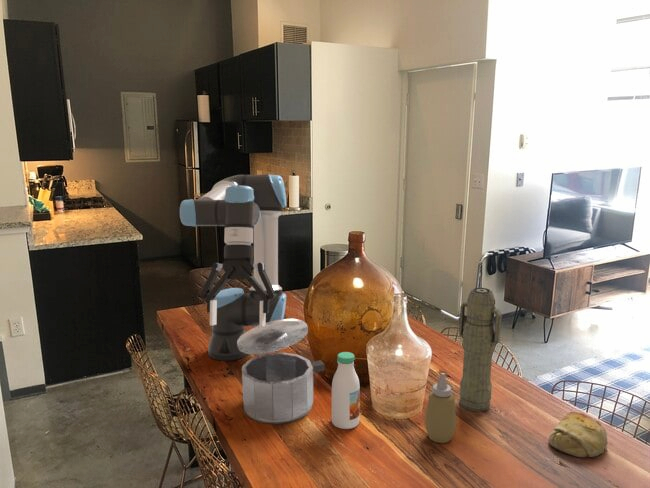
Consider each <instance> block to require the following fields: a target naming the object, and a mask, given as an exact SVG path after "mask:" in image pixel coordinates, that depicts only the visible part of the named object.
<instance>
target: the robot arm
mask: <svg viewBox="0 0 650 488" xmlns="http://www.w3.org/2000/svg"><path fill="white" fill-rule="evenodd" d="M286 193H287V192H286V187H285V183H284V179H283V177H282V176H281V175H278V174H277V175H276V174H236V175H233V176H232V175H231V176H229V177H226V178H224V179H221V180H220V181H218V182H216V183H215V184H214V185H213V186H212V188H211V190H210V191H208V192H207V193H205V194H204V195H202V196H200V198H198V199H194V198H193V199H192V198H191V199H184V200H182V201H181V203H180V206H179V218H180V222H181V224H182V225H183V226H186V227H188V226H189V227H194V228H195V227H224V240H223V241H224V244H225V245H224V247H223V259H224V261H223V263H219V262H213V263H212V265H211V271H210V273H209V275H208V277H207V279H206V281H205V284H204V285H203V287H202V290H201V292H200V293H199V297H200V298H203V299H205V300H206V312H207V313H209V326H211V332H212V333H211V337H210V340H209V343H208V347H207V351H208V353H207V355H208V357H210V358H211V359H213V360H217V361H223V362H224V361H229V362H230V361H236V360H240V359H243V358H245V357H247V356H248V355H249V354H246V353H243V352H241V351H240V350H239V349H238V346H237V340H238V339H239V337H240V336H241V335H242V334H243V333H245V332H246V330H245V327H256V326H258V325H259V327H263V326H265V325H266V323H267V322H270V321H275V320H281V319H285V318H284V317H285V312H286V305H287V304H286V303H287V294H286V293H284V292H283V287H281V286H280V285H279V217H280V216H281V215H282V213H283V209H284V208H287V204H288V203H287V194H286ZM251 244H253V245H251ZM222 270H223V271H224V273H223V275H222V276H221V278H220V280H219V281H218V282H217V283H216V284H215V282H216V279H218V276H219V273H220V272H221V271H222ZM252 272H253V273H252ZM231 280H233V281H235V280H239V281H242V280H243V281H245V280H246V281H247V282H248V283H249V284H250V285H251V287H249V293H245V292H244V289H243V288H241V287H230V288H224V287H225V286H226V285H227V283H229V281H231ZM214 284H215V286H214ZM213 286H214V287H213ZM223 288H224V289H223Z"/></svg>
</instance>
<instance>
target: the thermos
mask: <svg viewBox="0 0 650 488" xmlns="http://www.w3.org/2000/svg"><path fill="white" fill-rule="evenodd" d="M466 299H467V300H466V301H465V302H463V303H462V304H461V306H460V307H459V329H458V331H459V336H460V337H461V339H462V349H463V358H462V359H463V361H462V362H463V363H462V364H463V365H462V377H461V380H460V383H459V405H460V406H462V407H463V408H464V409H466V410H469V411H472V412H483V411H487V410H489V409H490V407H491V399H492V390H493V389H492V386H493V384H492V381H491V378H492V377H491V375H492V374H491V373H492V359H493V353H494V351H495V346H496V345H497V344H499V343H500V340H501V339H500V338H501V337H500V336H501V326H502V318H503V315H502V312H501V310H500V309H497V308H496V299H495V295H494V292H493V290H491V289H489V288H486V287H475V288H472V289H470V291H469V294H468V296H467V298H466ZM465 310H466V311H465ZM465 312H466V320H465ZM494 319H495V322H494ZM494 324H495V326H494Z"/></svg>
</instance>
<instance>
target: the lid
mask: <svg viewBox="0 0 650 488" xmlns="http://www.w3.org/2000/svg"><path fill="white" fill-rule="evenodd" d="M308 333H309V328H308V324H307V323H306V321H304V320H302V319H296V318H283V319H281V320H275V321H270V322H267V323H266V325H265V326H263V327H259V325H258V326H252V328H250V329H248V330H245V333H243V334H242V335H241V336H240V337H239V339H238V340H237V346H238V349H239V350H240V351H241V352H243V353H246V354H248V355H258V356H260V355H263V354H271V353H277V352H278V351H281V350H284V349H287V348H289V347H291V346H293V345H295V344H297V343H299V342H300V341H302V340H303V339H304V338H305V337H306V336H307V335H308Z"/></svg>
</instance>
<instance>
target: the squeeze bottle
mask: <svg viewBox="0 0 650 488" xmlns="http://www.w3.org/2000/svg"><path fill="white" fill-rule="evenodd" d="M455 400H456V398H455V395H454V394H453V393H452V386H450V385H449V384H448V382H447V378H446V373H443V372H441V373H440V375H439V378H438V382H437V383H434V384H433V385H432V391H431V392H430V393H429V395H428V400H427V405H426V406H427V407H426V411H425V412H426V413H425V418H424V426H425V429H426V433H427V437H428V438H429V439H430V440H431V441H433V442H434V443H439V444H445V443H449V442H450V441H451V440H452V438H453V435H454V433H455V432H456V428H457V418H456V417H457V416H456V401H455Z"/></svg>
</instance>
